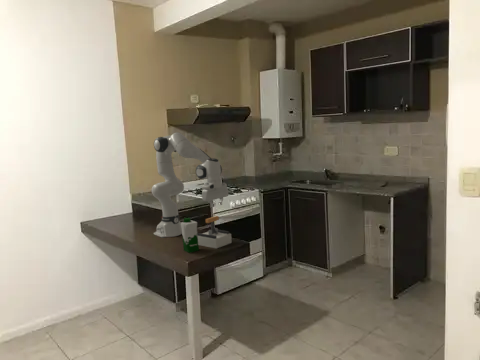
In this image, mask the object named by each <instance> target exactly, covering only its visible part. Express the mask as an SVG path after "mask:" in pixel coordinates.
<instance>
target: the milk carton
mask: <svg viewBox="0 0 480 360" xmlns="http://www.w3.org/2000/svg"><path fill="white" fill-rule="evenodd" d="M180 223H181V228H182V234H181V235H182V245H183V251H184V252H186V253H189V254H191V253H195V252H197V251H200V245H198V235H197V233H198V222H197V221H195V220H191V218H190V217H184V218H183V221H182V222H181V221H180Z"/></svg>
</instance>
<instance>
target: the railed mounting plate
mask: <svg viewBox="0 0 480 360" xmlns="http://www.w3.org/2000/svg"><path fill="white" fill-rule="evenodd" d="M218 233H224V234H231V233H230V231H228V230H224V229H222V230H221V229H218ZM197 235H198V236H202V237H208V238H213V239H216V236H213V235H207V234H202V233H201V232H197Z"/></svg>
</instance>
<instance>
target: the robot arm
mask: <svg viewBox="0 0 480 360" xmlns="http://www.w3.org/2000/svg"><path fill="white" fill-rule="evenodd" d="M153 146H154V147H153V148H154V150H155V151H156V154H155V157H156V167H157V173H158V175H159V176H161V177H163V178H164V181H162V182H161V181H160V182H157V183H155V184H153V185H152V187H151V194H152V196H153V197H154V198H156V199H157V200H158V201H159V203H160V206H161V211H162V216H161V221H160V222H159V223H158V224H157V226H156V231H155V232H153V235H155V236H156V237H160V238H171V237H172V238H173V237H177V236H180V235H182V228H181V221H180V214H179V208H178V204H177V202H176V201H174V200H172V197H173V196H177V195H180V194H181V193H183V192H184V189H185V185H184V183H183V181H182V180H181V179H179V178H178V176H177V175H176V173H175V170H174V163H173V156H172V155H173V152H175V153H177V154H178V155H179V156H180V157H182V158H186V159H196V160H198V161H200V162H201V164H197V166H196V167H195V175H196V177H197V178H198V179H200V180H206V179H207V182H205V183H204V184H202V185H201V189H202V190H201V191H202V192H201V199H202V201H203V202H208V203H209V204H210V208H214V207H215V204H214V203H213V202H214V200H219V202H218V205H219V206H222V205H223V201H224V198H226V197H228V196H229V188H228V185H227V183H226V182H223V181H222V177H221V175H222V172H223V168H222V165H221V163H220V160H219V159H217V158H215V157H214V158H213V157H210V155H208V154H207V153H206V152H205V151H203V149H201V148H200V147H197V146H196V145H195V144H193V143H192V142H191V140H189V138H187V136H185V135H184V134H183V133H181V132H174V133H172V134H170V135H165V136H159V137H156V138H155V139H154V142H153Z"/></svg>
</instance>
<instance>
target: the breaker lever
mask: <svg viewBox="0 0 480 360" xmlns="http://www.w3.org/2000/svg"><path fill="white" fill-rule="evenodd" d="M219 217H220V216H218V215H215V216H212V217H208V218H205V224H210V230H212V234H215V233H216V231H215V228H216V227H215V222H216V221H219V220H220V218H219Z"/></svg>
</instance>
